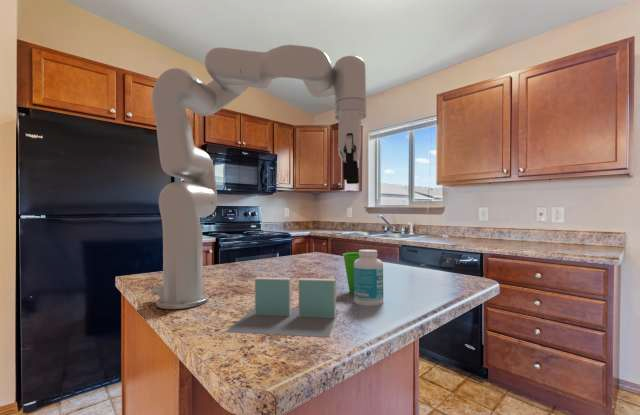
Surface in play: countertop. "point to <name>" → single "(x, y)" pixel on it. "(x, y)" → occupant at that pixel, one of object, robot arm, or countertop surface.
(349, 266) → the cup
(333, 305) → the tile
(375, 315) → the countertop surface
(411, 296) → the countertop surface
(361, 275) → the pill bottle
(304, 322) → the mat
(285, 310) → the tile
